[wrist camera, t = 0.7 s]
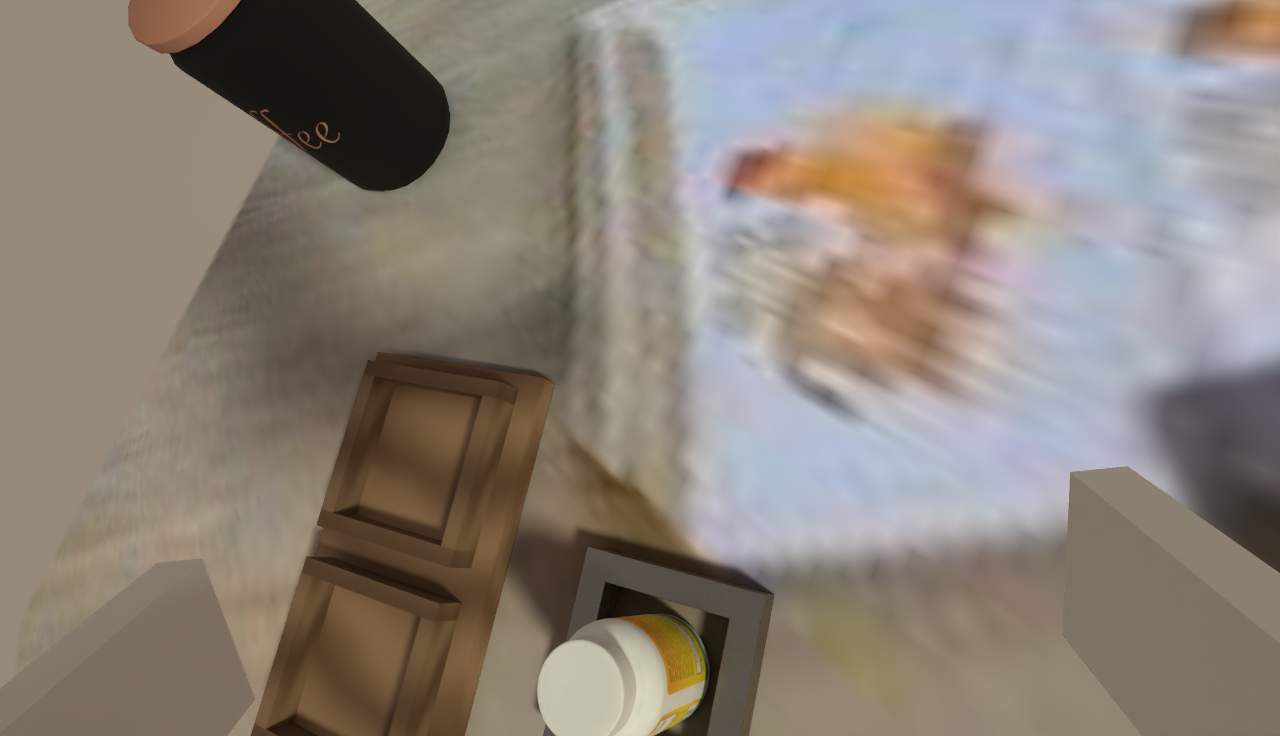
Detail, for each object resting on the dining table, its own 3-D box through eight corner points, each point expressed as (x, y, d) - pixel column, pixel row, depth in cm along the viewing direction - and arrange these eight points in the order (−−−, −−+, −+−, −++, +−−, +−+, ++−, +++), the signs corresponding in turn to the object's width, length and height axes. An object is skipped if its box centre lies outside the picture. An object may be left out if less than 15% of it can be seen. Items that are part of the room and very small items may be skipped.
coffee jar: (333, 162, 58) (105, 8, 43) (410, 62, 58) (208, -131, 42) (396, 220, 53) (164, 71, 38) (480, 112, 53) (282, -86, 37)
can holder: (603, 547, 39) (587, 546, 38) (774, 594, 35) (765, 595, 33) (561, 732, 37) (542, 740, 36) (735, 805, 33) (723, 818, 31)
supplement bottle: (695, 740, 35) (614, 794, 26) (605, 696, 37) (504, 732, 29) (725, 633, 35) (655, 651, 27) (635, 597, 38) (545, 603, 29)
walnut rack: (393, 357, 50) (356, 343, 47) (554, 383, 44) (525, 368, 40) (277, 737, 45) (227, 749, 42) (441, 826, 39) (397, 847, 36)
